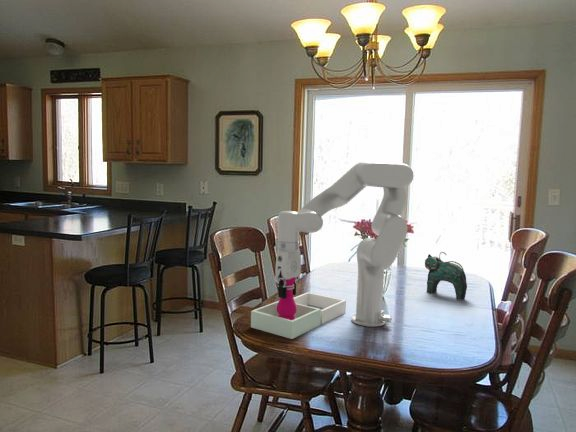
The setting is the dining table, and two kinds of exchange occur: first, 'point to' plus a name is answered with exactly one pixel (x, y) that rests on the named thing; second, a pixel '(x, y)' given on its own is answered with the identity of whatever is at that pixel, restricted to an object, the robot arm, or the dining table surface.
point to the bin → (285, 320)
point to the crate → (323, 305)
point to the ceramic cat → (445, 275)
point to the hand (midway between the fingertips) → (287, 295)
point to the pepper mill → (287, 302)
